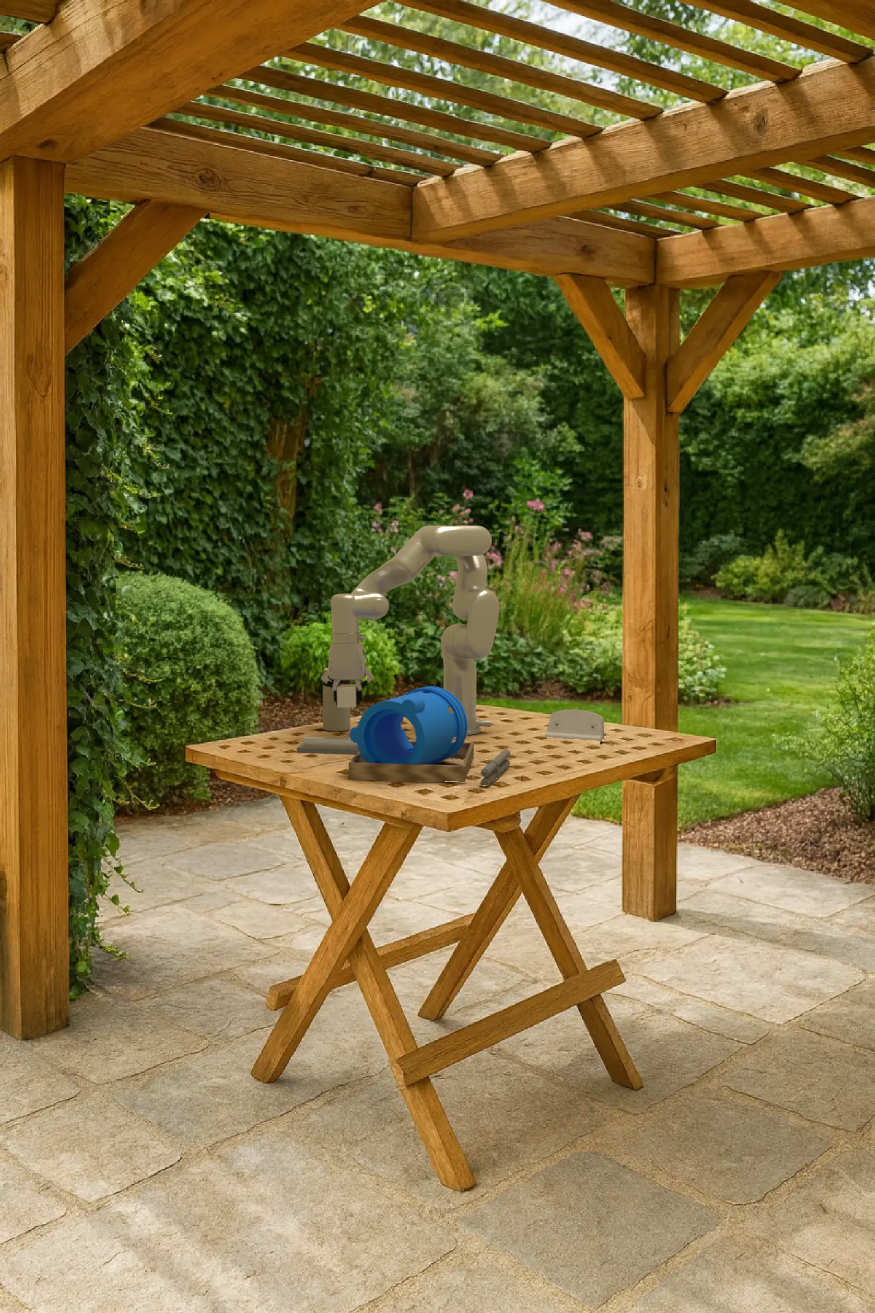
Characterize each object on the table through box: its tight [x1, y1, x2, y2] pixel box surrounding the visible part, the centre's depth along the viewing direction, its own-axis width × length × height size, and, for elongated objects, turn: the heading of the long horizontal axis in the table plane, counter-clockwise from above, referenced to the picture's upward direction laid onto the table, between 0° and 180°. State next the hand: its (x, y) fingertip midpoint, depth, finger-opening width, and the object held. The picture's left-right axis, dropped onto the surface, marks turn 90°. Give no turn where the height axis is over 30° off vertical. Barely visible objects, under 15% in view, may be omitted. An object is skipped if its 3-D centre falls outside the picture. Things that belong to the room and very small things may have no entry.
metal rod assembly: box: [480, 748, 511, 786], centre depth 291 cm, size 26×3×5 cm, turn 166°
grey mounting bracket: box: [544, 708, 605, 741], centre depth 342 cm, size 17×5×10 cm, turn 69°
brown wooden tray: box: [348, 740, 475, 783], centre depth 300 cm, size 28×32×4 cm
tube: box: [348, 685, 468, 765], centre depth 298 cm, size 25×22×19 cm
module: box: [337, 683, 357, 708], centre depth 334 cm, size 5×6×5 cm
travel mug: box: [322, 667, 351, 732], centre depth 354 cm, size 8×8×18 cm
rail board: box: [296, 735, 359, 755], centre depth 323 cm, size 22×10×3 cm, turn 85°
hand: (348, 703), depth 334 cm, fingers closed on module, 5 cm apart
